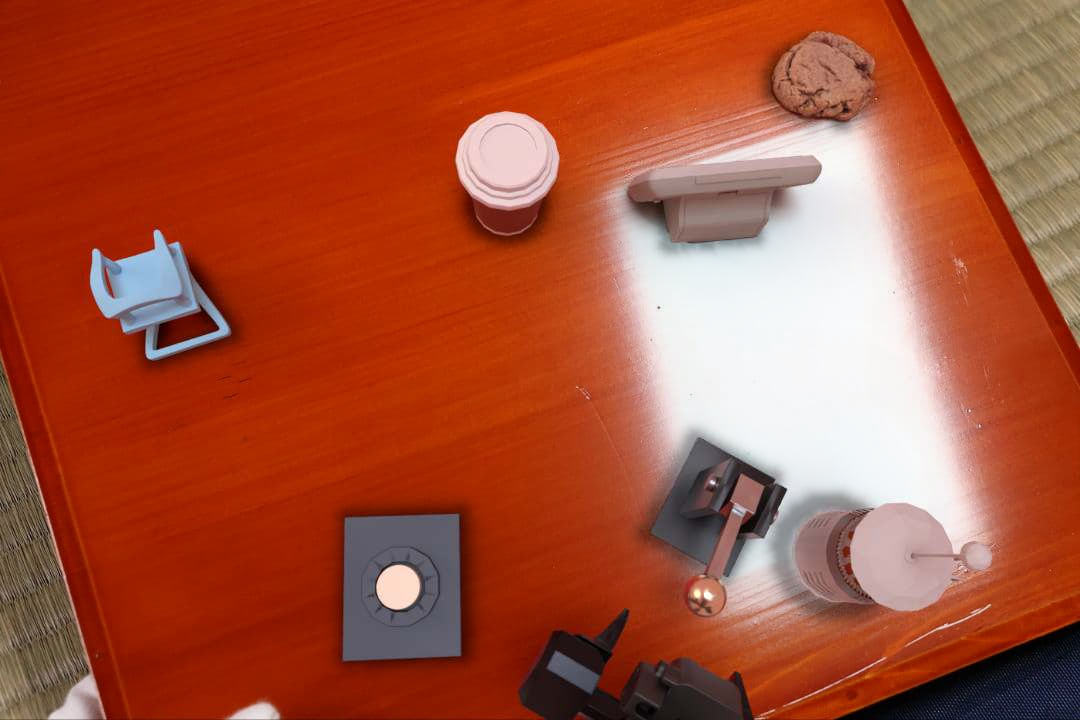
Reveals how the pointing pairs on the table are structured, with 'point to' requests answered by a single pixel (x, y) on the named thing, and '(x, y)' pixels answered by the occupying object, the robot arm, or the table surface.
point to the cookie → (824, 77)
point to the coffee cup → (507, 169)
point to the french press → (880, 556)
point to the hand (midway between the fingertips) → (679, 643)
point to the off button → (399, 586)
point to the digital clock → (721, 195)
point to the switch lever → (722, 549)
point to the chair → (153, 294)
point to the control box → (438, 607)
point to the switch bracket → (712, 504)
